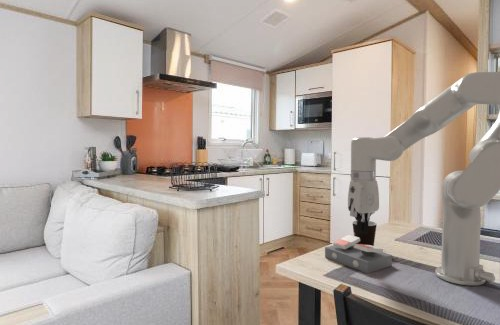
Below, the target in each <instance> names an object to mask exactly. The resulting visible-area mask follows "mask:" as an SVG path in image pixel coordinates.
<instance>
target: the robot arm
mask: <svg viewBox="0 0 500 325" xmlns="http://www.w3.org/2000/svg"><path fill="white" fill-rule="evenodd" d="M476 105H490V106H491V105H492V106H497V109H498V115H497V117H496V120H495V122H494V123H493V124H492V125H491V127H489V129H488V131H486V133H485V134H484V135H483V137H481V139H480V140H479V141H477V143H476V144H475V145H474V146H473V148H472V149H471V150H470V152H469V155H468V161H469V164H468V165H467V166H466V168H465V169H464V170H455V171H452V172H450V173H449V174H447V175H446V176H445V178H444V179H443V181H442V184H441V202H442V223H441V224H442V226H441V227H442V228H441V258H440V260H441V262H440V264H441V266H438V267H436V268H435V273H434V274H435V275H436V276H437V277H438V278H439V279H441V280H443V281H446V282H449V283H452V284H457V285H461V286H470V287H471V286H481V285H484V284H486V282H489V283H495V280H496V276H495V274H494V273H493V272H489V271H485V269H484V265H483V264H480V255H481V254H480V252H481V228H482V217H481V216H482V214H481V208H482V207H484V206H485V205H487V204H488V203H489V202H490V201H491V200H492V199H494V197H495V196H496V195H497V194H498V193H499V192H500V71H477V72H470V73H467V74H465V75H464V76H462V77H460V78H459V79H457V81H455V82H454V83H452V84H451V85H450V86H448V87H447V88H445V89H444V90H443V91H442V92H440V93H439V94H438V95H436V96H435V97H433V98H432V99H431V100H430V101H428V102H426V103H425V104H424V105H422V106H421V107H420V108H419V109H417V110H416V111H415V112H414V113H413V114H412V115H411V116H409V118H407V119H406V120H405V121H404V122H402V123H401V124H400V125H398V126H397V127H396V128H394V129H393V130H391V131H390V132H389V133H388V134H386V135H384V136H383V137H382V136H381V137H369V136H366V137H364V136H363V137H354V138H352V139H351V143H350V180H349V186H348V192H347V209H348V211H349V216H350V217H353V218H355V221H357V233H360V234H368V221H370V220H371V216H372V215H373V214H375V213H376V212H378V210H380V209H379V208H380V192H379V185H378V181H377V180H376V178H377V174H376V173H377V172H376V170H377V169H376V168H377V160H378V161H385V162H386V161H387V162H393V161H396V160H398V159H400V157H402V155H403V154H404V152H405V151H406V150H407V149H409V148H411V147H412V146H413V145H415V144H416V143H418V142H419V141H421V140H423V139H425V138H426V137H429V136H432V135H434V134H436V133H437V132H439V131H441V130H442V129H444V128H445V127H446V126H448V125H449V124H450V123H451V122H454V121H455V120H456V119H458V118H459V117H460V116H462V115H463V114H465V113H466V112H467V111H469V110H470V109H472V108H474V106H476Z"/></svg>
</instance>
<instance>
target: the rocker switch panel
mask: <svg viewBox="0 0 500 325" xmlns="http://www.w3.org/2000/svg"><path fill="white" fill-rule="evenodd" d="M354 246H355V244H354V245H352V246H350V247H349V248H347V249H345V250H344V249H341V248H338V247H335V246H334V245H330V246H329V245H328V246H326V247H324V258H327V259H328V260H332V261H334V262H337V263H340V264H342V265H345V266H347V267H350V268H352V269H355V270H357V271H360V272H362V273H365V274H370V273H374V272H376V271H379V270H382V269H386V268H389V267H392V266H393V265H392V264H393V262H392V261H393V255H392V254H390V253H387V252H383V253H380V252H366V251H363V250H360V249H356V248H354Z"/></svg>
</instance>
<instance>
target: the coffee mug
mask: <svg viewBox="0 0 500 325" xmlns="http://www.w3.org/2000/svg"><path fill="white" fill-rule="evenodd" d="M377 226H378V225H377V222H376V221H370V220H369V221H368V234H360V233H357V221H356V220H353V221H352V228H353V229H352V230H353V236H355V237H359V238H360V241H359V242H358V243H356V244H363V245H372V246H374V245H375V238H376V232H377Z"/></svg>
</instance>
